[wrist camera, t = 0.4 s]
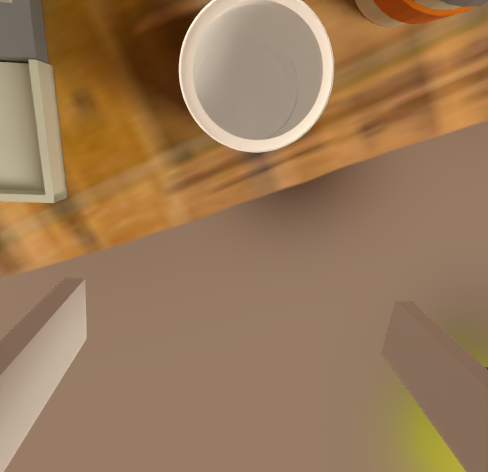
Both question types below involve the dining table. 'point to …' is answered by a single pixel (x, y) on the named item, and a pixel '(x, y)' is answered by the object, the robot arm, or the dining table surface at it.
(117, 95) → the dining table surface
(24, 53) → the board
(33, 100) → the tray
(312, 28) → the jar
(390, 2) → the reusable coffee cup
